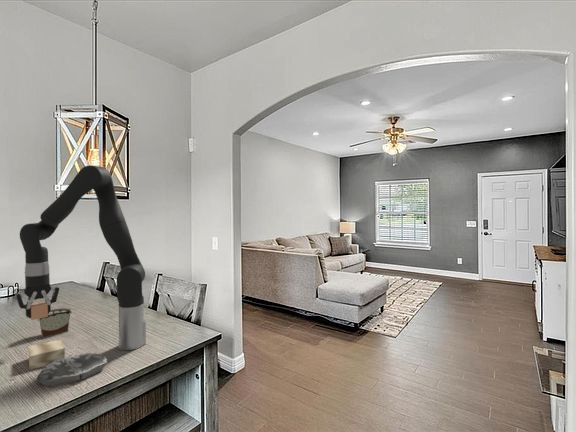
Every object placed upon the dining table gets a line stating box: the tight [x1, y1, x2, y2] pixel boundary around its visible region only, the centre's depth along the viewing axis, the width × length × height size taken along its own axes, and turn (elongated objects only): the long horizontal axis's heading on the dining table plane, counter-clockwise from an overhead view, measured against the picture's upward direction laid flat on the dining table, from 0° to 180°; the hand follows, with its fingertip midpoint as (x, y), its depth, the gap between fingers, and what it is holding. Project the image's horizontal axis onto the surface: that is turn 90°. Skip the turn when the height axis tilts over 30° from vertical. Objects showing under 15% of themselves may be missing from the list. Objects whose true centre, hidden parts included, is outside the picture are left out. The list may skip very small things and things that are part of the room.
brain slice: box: [37, 352, 108, 388], centre depth 107 cm, size 20×17×3 cm
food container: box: [37, 307, 73, 339], centre depth 139 cm, size 12×6×10 cm, turn 141°
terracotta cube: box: [29, 301, 48, 321], centre depth 124 cm, size 5×5×5 cm
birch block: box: [28, 338, 66, 371], centre depth 116 cm, size 10×10×5 cm
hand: (38, 315), depth 124 cm, fingers closed on terracotta cube, 5 cm apart
